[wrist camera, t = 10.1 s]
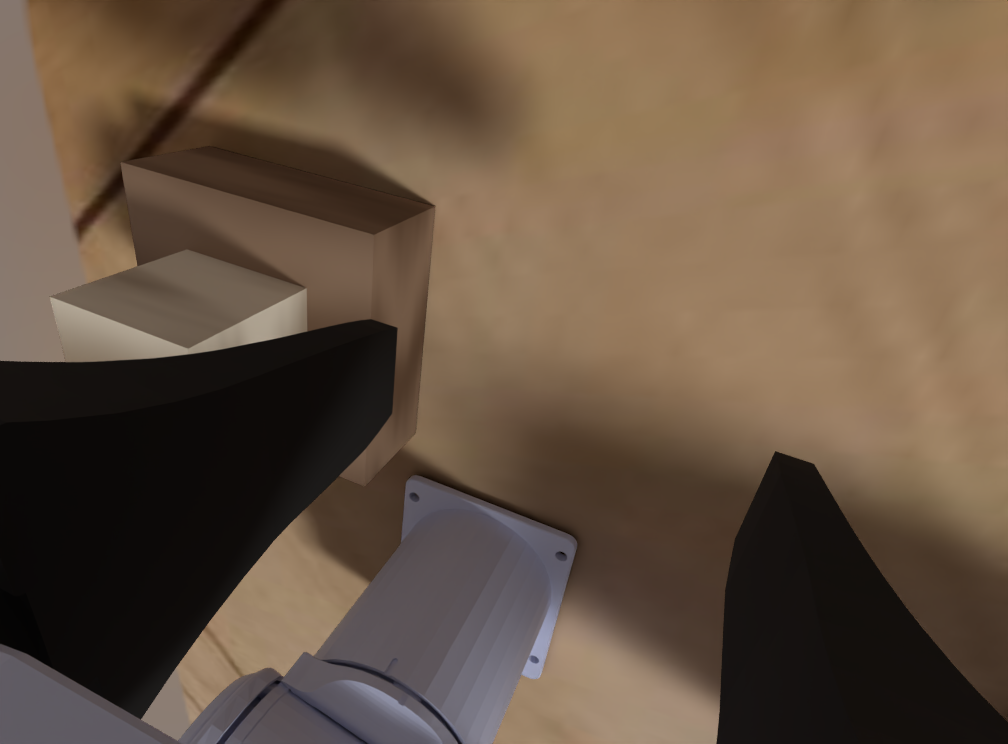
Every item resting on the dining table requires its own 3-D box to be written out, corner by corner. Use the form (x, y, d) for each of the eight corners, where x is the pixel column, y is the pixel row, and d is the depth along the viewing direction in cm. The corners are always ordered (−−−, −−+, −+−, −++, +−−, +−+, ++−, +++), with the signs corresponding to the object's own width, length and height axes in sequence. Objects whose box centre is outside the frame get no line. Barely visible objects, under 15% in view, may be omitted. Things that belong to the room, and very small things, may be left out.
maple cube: (308, 411, 23) (206, 490, 19) (201, 370, 25) (83, 436, 21) (306, 288, 21) (187, 348, 17) (187, 249, 22) (49, 296, 18)
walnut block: (415, 433, 27) (364, 486, 24) (229, 363, 30) (160, 403, 27) (435, 206, 22) (373, 234, 19) (209, 146, 25) (120, 162, 21)
